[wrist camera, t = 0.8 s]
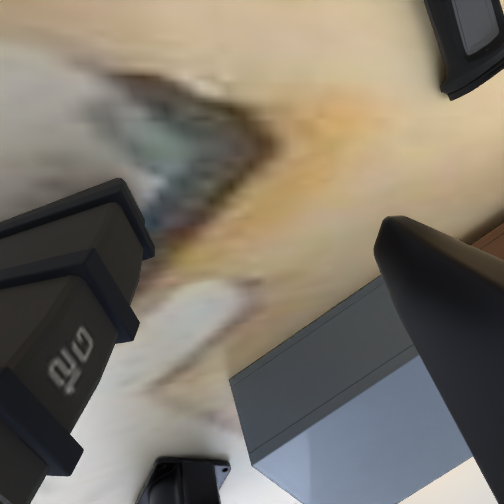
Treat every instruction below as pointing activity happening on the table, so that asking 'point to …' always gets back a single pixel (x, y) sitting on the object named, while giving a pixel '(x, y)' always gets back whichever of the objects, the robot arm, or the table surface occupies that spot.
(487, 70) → the electric trimmer
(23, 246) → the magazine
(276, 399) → the cabinet
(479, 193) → the table surface
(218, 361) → the table surface
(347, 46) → the table surface
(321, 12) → the table surface
